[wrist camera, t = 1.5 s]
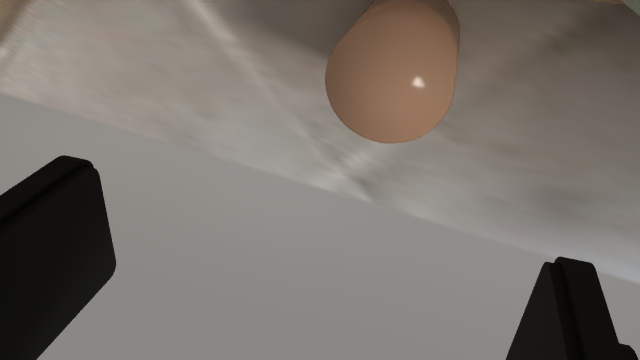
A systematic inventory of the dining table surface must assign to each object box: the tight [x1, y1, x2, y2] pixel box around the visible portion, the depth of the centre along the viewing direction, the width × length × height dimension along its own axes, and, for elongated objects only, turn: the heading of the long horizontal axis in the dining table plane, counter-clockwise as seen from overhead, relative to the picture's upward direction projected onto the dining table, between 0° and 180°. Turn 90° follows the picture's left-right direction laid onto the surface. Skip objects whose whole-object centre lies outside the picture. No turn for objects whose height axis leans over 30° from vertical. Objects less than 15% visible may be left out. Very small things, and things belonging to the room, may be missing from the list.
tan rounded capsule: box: [325, 0, 460, 143], centre depth 22 cm, size 5×5×7 cm
